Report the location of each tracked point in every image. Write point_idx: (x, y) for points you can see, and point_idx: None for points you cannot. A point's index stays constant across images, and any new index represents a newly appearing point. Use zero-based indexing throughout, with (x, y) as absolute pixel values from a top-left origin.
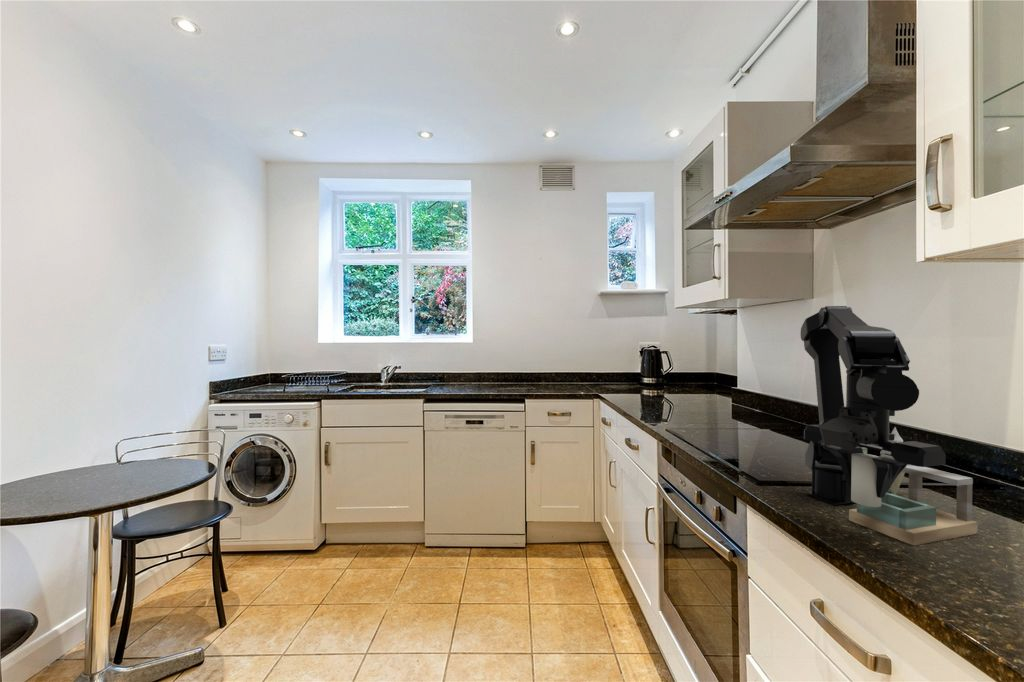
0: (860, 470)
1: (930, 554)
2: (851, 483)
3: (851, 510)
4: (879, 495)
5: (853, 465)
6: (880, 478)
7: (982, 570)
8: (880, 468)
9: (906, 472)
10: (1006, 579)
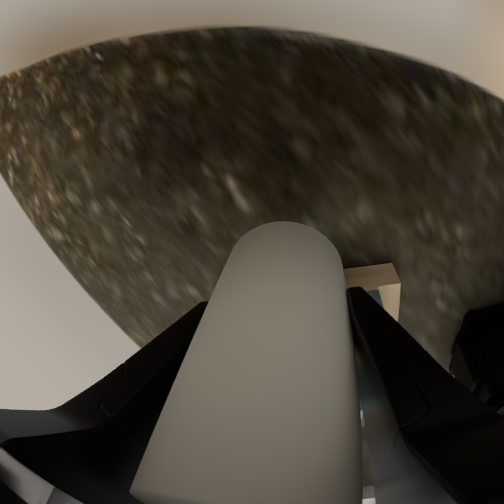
0: (212, 371)
1: (178, 274)
2: (325, 287)
3: (393, 283)
4: (197, 306)
5: (292, 403)
6: (133, 369)
7: (125, 300)
8: (85, 417)
9: (363, 487)
10: (103, 302)
